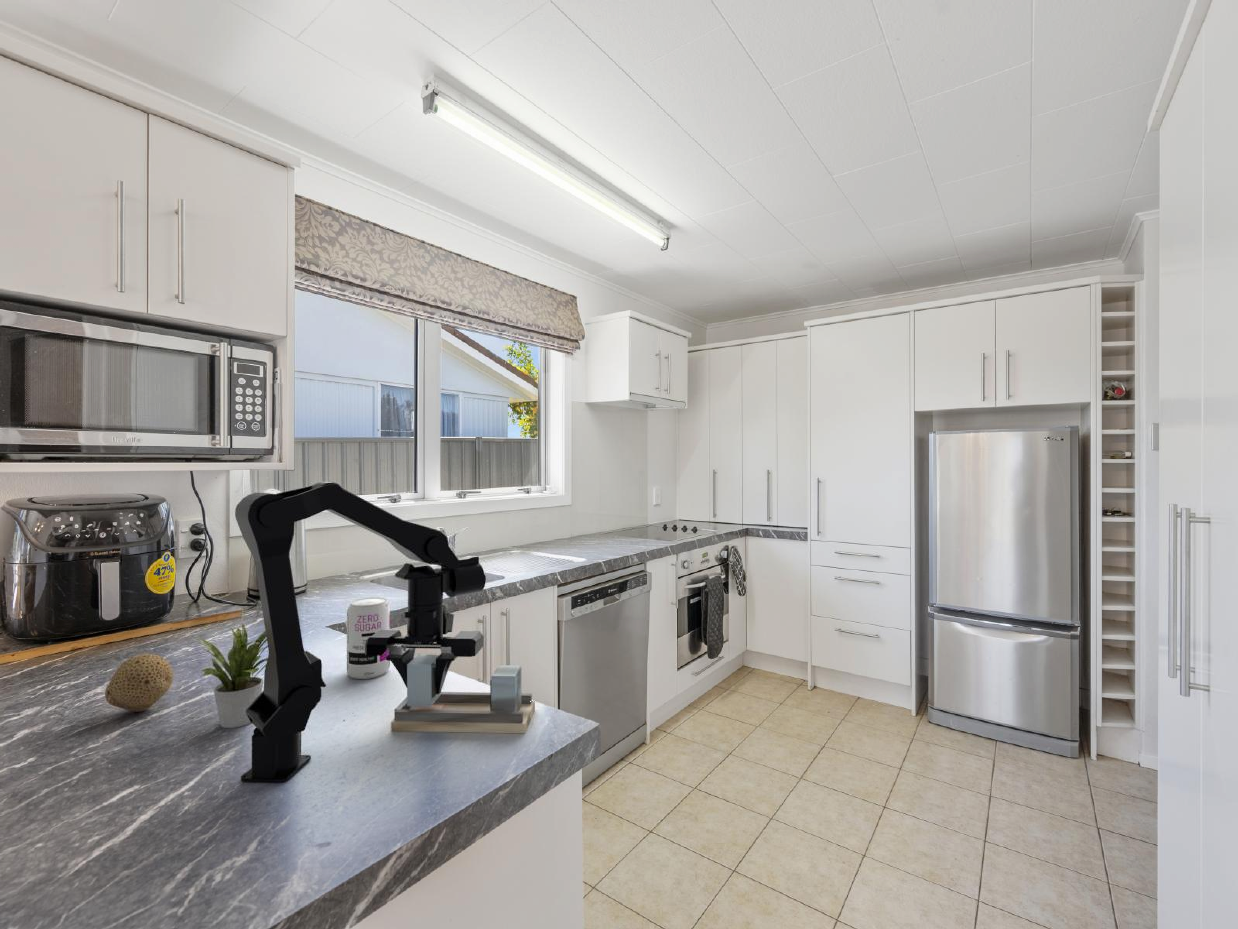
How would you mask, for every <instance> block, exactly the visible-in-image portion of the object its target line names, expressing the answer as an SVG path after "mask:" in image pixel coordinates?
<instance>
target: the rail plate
mask: <svg viewBox="0 0 1238 929" xmlns="http://www.w3.org/2000/svg"><path fill="white" fill-rule="evenodd" d="M489 682H490V683H489V684H490V686H489V687H490V689H489V690H490V691H489V692H473V691H472V692H470V691H469V692H468V691H465V692H462V691H459V692H458V691H441V695H440V696H439V698H438V699H437V700H436V701H435V702H434V703H433V704H432V706H431V707H428V706H407V696H406V697H405V698H404V699H403V700H402V701H401V702H400V703H399V704H398V705H397V706H396V707H395V708H394V710H393V711H394V717H393V719H392V720H391V722H390V732H423V733H425V732H426V733H430V732H431V733H436V732H437V733H481V734H482V733H483V734H484V733H485V734H525V733H526V731H527V729H528V726H529V725H530V721H531V720H532V718H533V715H534V712H535V710H536V706H535V705H536V702H535V701H534V700H532V699H533V697H532V696H533V694H532V692H531V693H530V692H525V693H524V692H522V665H508V664H507V665H503V664H502V665H501V664H500V665H497V667H496V669H495V670H494V671H493V673H492V674H491V676H490V681H489ZM530 701H531V702H530Z"/></svg>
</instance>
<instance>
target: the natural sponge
mask: <svg viewBox="0 0 1238 929" xmlns="http://www.w3.org/2000/svg"><path fill="white" fill-rule="evenodd" d="M172 668H173V667H172V666H171V664H170V663H169V662H168V660H167V659H165V658H163V657H162V656H160V655H158V654H151V653H141V654H137V655H134V656H131V657H130V658H128V659H126V660H125V661H124V662H123V663H121V665H119V667H118V668H117V669H116V671H114V673H113V675H112V677H111V679H110V681H109V682H108V684H107V686H106V688H105V691H104V697H105V700H106V702H107V703H108V704H109V705H111V706H113V707H117V708H120V709H123V710H126V711H129V712H135V713H140V712H144V711H146V710H148V709H150V708H151V707H153V706H154V704H156V702H158V701H159V700H160V699H161V698H162V697H163V696H164V695H165V694H166V693H167V692H168V691H169V689H170V687H171V686H172V684H173V683H174V681H173V680H174V673H173V669H172Z"/></svg>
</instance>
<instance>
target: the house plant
mask: <svg viewBox="0 0 1238 929" xmlns="http://www.w3.org/2000/svg"><path fill="white" fill-rule="evenodd" d="M229 629H230V630H231V633H232V635H233V641H232V642H233V643H232V647H231V649H229V651H228V653H227V660H228V661H227V660H226V658H225V656H224V655H223V653H222V652H221V651H220V650H219V649H218V648H217V646H215V645H214V644H213V643H211V642H209V641H207V640H205V639H202V638H196V637H195V638H194V639H196V640H198V641H200V642H201V643H203V644H204V645H205V646H206V647H207V648H208V649H209V650H208V649H206V648H202V647H201V649H202V650H203V651H206V653H207V652H208V653H209V654H210V655H211V656H212V657H211V661H212V666H213V668H211V667H209V668H208V667H207V668H203V669H201V671H202V672H203V674H202V675H201V677H203V676H204V677H205V676H208V675H211V676H214V677H216V678H217V679H218V680H219V681H220V682H221V683H219V684H217V685H215V686H214V688H213V693H214V699H215V703H216V709H217V715H218V719H219V724H220V725H219V726H220V727H222V728H224V729H226V728H227V729H234V728H235V729H236V728H240V727H243V726H246V725H249V724H252V723H251V722H250V721H249V718H248V716H247V714H246V709H247V708H248V707H249V706H250V705H251V704H252V703H253V702H254V700H255V699H256V698H257V697H258V696H259V695H260V694H261V693H262V692H263V688H264V678H261V677H258V676H257V675H258V674H259V673H260V672H261V671H263V669H265V667H266V664H265V665H264V666H263V667H261V668H259V667H258V666H259V665H261V664H262V663H264V662H267V659H268V657H267V658H264V659H261V660H260V658H262V656H261V655H262V654H263V652H265V650H266V649H268V644H267V645H266V646H265V647H263V645H265V643H266V642H267V637H266V631H265V630H264V631H262V633H261V634H260V635H259V636H258V637H257V638H256V639H254V640H252V641H250V642H248V641H249V638H248V632H247V630H246V626H245V625H244V623H243V622H242V623H241V629H240V627H237V629H236V630H235V631H234V629H233V628H232V627H231V626H229ZM217 660H218V661H219V663H220V664H219V663H218V662H217ZM258 660H260V661H258ZM257 661H258V662H257ZM221 666H222V667H223V668H224V669H223V668H222V667H221ZM259 669H260V670H259ZM224 670H225V671H224ZM254 674H255V675H254Z"/></svg>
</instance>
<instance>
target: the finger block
mask: <svg viewBox="0 0 1238 929" xmlns="http://www.w3.org/2000/svg"><path fill="white" fill-rule="evenodd" d="M439 655H440V654H427V653H426V654H421V653H420V654H418V655H416V656H415V657H414V659H413V660H412V661H410V662H409V663H408V664H407V688H406V697H407V706H428V707H431V706H432V704H433V703H434V702H435V701H436V700H437V699H438V698H439V696H440V695H441V692H442V691H441V692H440V693H439V694H436V686H435V684H436V658H437V657H438V656H439Z"/></svg>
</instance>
